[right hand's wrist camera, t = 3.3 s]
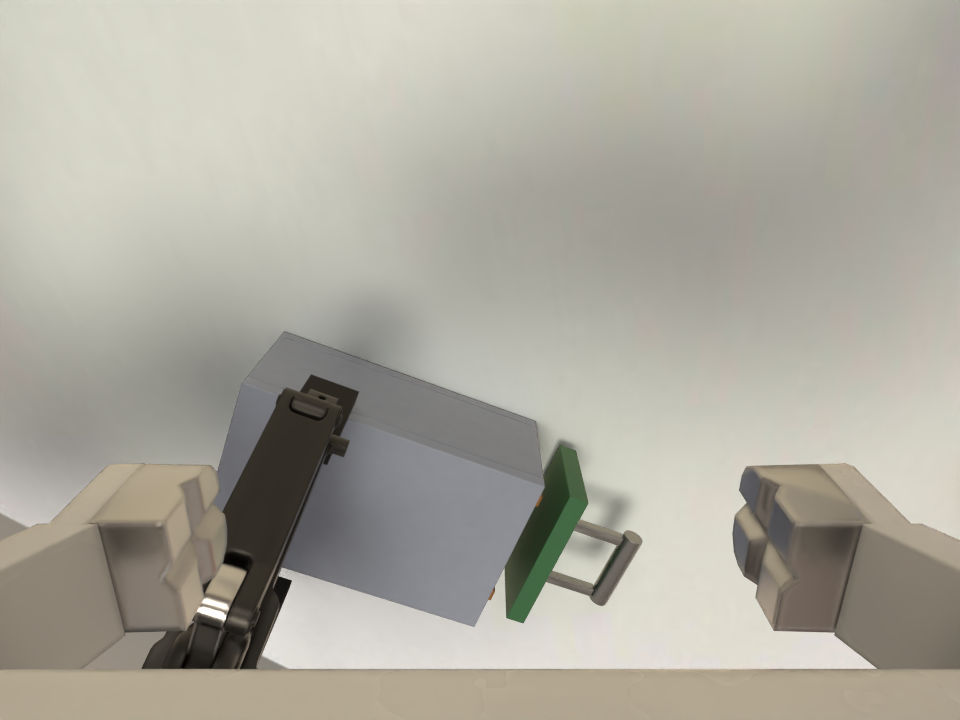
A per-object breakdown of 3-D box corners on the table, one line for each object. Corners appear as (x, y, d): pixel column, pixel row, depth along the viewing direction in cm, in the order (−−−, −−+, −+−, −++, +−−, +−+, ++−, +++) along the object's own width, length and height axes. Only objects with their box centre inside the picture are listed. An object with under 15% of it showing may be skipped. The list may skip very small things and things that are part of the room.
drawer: (643, 474, 45) (665, 529, 40) (583, 581, 49) (595, 646, 43) (342, 367, 42) (320, 410, 37) (301, 489, 46) (275, 545, 40)
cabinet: (536, 421, 45) (545, 487, 38) (476, 546, 49) (474, 627, 42) (284, 331, 43) (241, 382, 35) (243, 469, 47) (197, 541, 39)
